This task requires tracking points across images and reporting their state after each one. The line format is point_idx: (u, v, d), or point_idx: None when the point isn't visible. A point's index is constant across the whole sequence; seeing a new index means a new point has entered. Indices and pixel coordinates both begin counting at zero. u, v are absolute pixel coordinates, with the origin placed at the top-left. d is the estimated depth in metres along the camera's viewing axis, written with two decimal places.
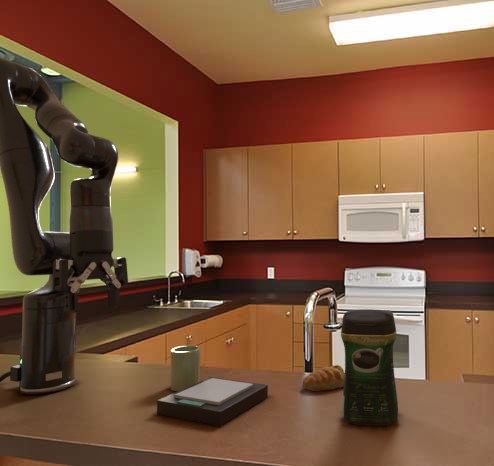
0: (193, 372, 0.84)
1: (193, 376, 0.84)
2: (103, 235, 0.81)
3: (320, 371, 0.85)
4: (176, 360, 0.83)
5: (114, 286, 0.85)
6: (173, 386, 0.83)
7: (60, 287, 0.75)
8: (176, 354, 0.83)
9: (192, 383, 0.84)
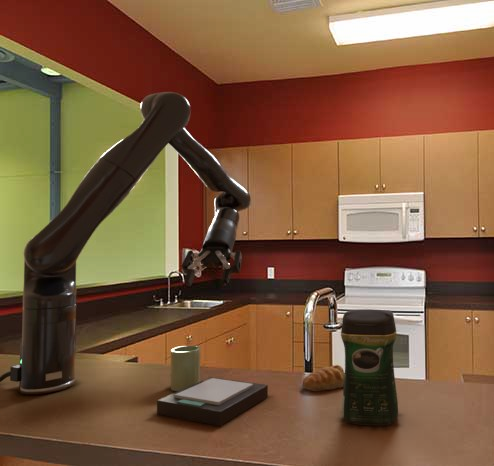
0: (193, 372, 0.84)
1: (193, 376, 0.84)
2: None
3: (320, 371, 0.85)
4: (176, 360, 0.83)
5: (194, 273, 1.02)
6: (173, 386, 0.83)
7: (239, 270, 1.03)
8: (176, 354, 0.83)
9: (192, 383, 0.84)
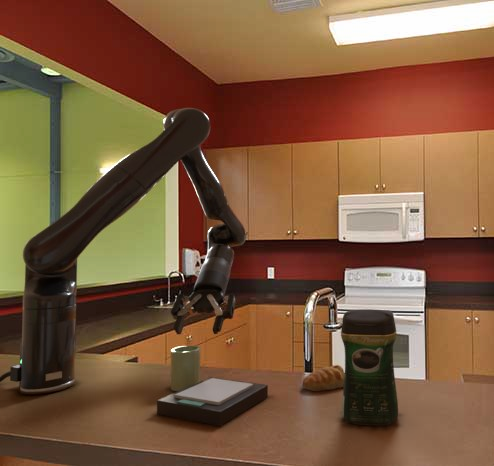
0: (193, 372, 0.84)
1: (193, 376, 0.84)
2: None
3: (320, 371, 0.85)
4: (176, 360, 0.83)
5: (185, 319, 0.96)
6: (173, 386, 0.83)
7: (232, 316, 0.97)
8: (176, 354, 0.83)
9: (192, 383, 0.84)
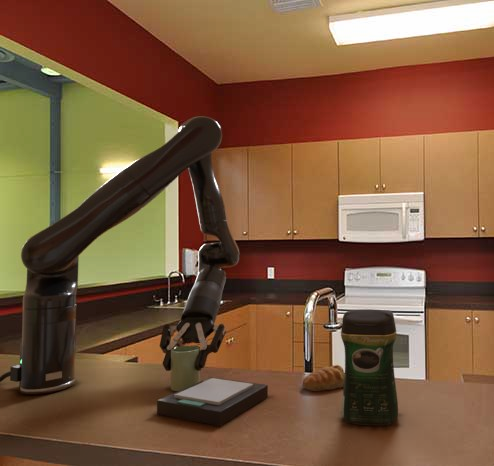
0: (193, 372, 0.84)
1: (193, 376, 0.84)
2: None
3: (320, 371, 0.85)
4: (176, 360, 0.83)
5: None
6: (173, 386, 0.83)
7: None
8: (176, 354, 0.83)
9: (192, 383, 0.84)
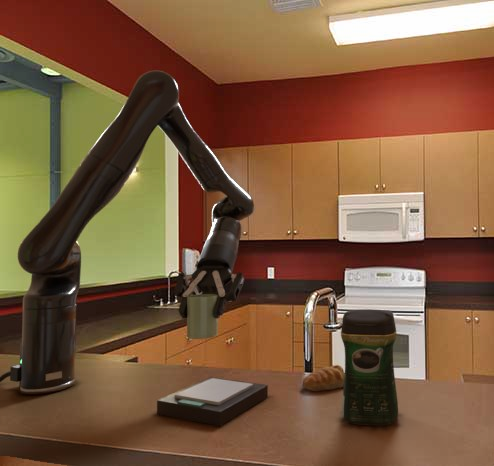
0: (211, 319, 0.79)
1: (211, 324, 0.79)
2: None
3: (320, 371, 0.85)
4: (193, 306, 0.78)
5: None
6: (190, 334, 0.78)
7: (236, 299, 0.83)
8: (193, 300, 0.78)
9: (210, 331, 0.79)
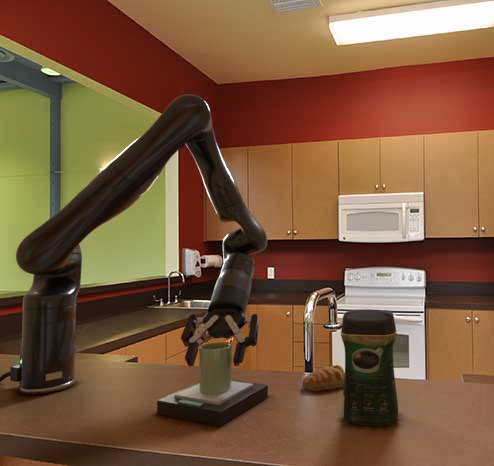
0: (225, 372, 0.74)
1: (225, 377, 0.74)
2: None
3: (320, 371, 0.85)
4: (206, 359, 0.73)
5: (198, 346, 0.78)
6: (202, 388, 0.73)
7: (256, 342, 0.79)
8: (206, 352, 0.73)
9: (224, 385, 0.74)
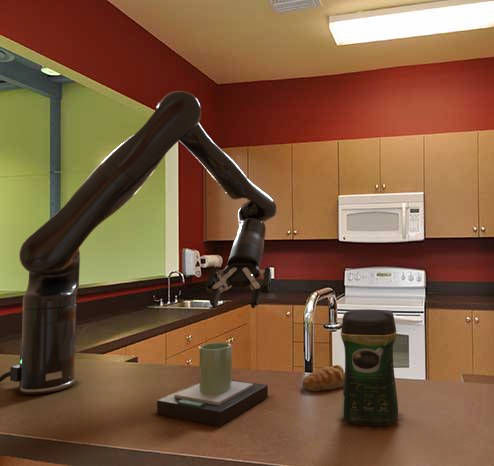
0: (225, 372, 0.74)
1: (225, 377, 0.74)
2: None
3: (320, 371, 0.85)
4: (206, 359, 0.73)
5: (219, 292, 0.92)
6: (202, 388, 0.73)
7: (269, 290, 0.92)
8: (206, 352, 0.73)
9: (224, 385, 0.74)
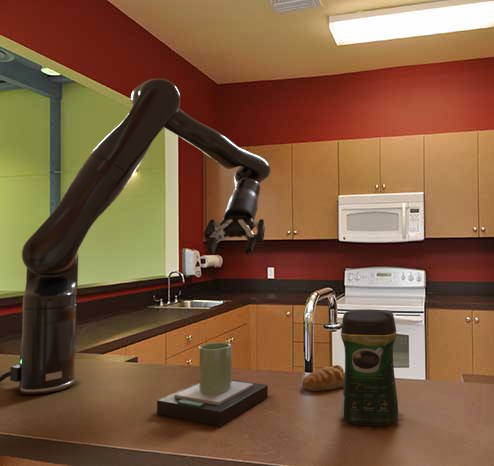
0: (225, 372, 0.74)
1: (225, 377, 0.74)
2: None
3: (320, 371, 0.85)
4: (206, 359, 0.73)
5: (217, 242, 0.98)
6: (202, 388, 0.73)
7: None
8: (206, 352, 0.73)
9: (224, 385, 0.74)
